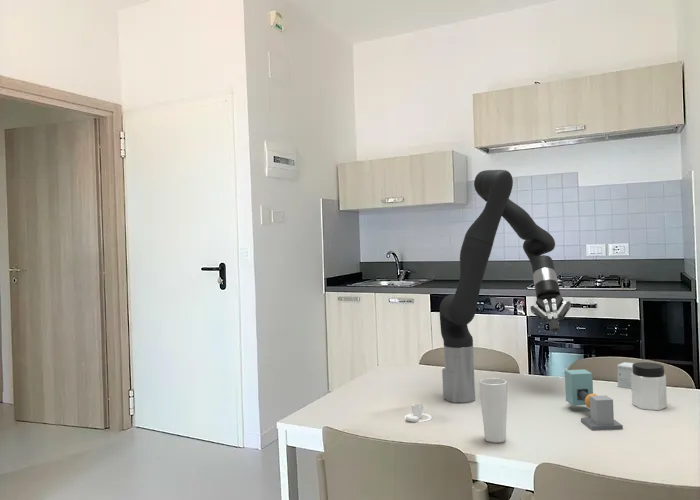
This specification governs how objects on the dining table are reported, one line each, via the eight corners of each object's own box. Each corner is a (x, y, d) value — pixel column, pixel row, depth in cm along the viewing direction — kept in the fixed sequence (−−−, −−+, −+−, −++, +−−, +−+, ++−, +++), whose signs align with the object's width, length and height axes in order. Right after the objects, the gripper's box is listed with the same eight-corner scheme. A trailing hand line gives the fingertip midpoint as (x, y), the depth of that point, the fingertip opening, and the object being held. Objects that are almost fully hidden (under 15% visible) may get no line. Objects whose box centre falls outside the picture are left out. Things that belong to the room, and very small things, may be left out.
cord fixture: (622, 429, 144) (621, 400, 144) (592, 430, 144) (591, 401, 144) (585, 403, 167) (584, 378, 167) (558, 404, 167) (558, 379, 167)
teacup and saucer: (411, 426, 155) (411, 411, 155) (396, 418, 162) (396, 404, 162) (437, 420, 159) (436, 406, 159) (421, 413, 166) (420, 399, 166)
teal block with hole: (593, 404, 159) (592, 373, 159) (572, 405, 159) (571, 374, 159) (586, 399, 164) (585, 369, 164) (565, 400, 164) (564, 370, 164)
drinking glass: (478, 436, 143) (475, 378, 143) (503, 434, 144) (501, 376, 144) (486, 445, 137) (484, 385, 136) (513, 443, 137) (511, 383, 137)
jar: (655, 412, 156) (654, 370, 156) (627, 406, 163) (626, 365, 162) (671, 406, 161) (670, 365, 161) (643, 400, 168) (642, 360, 167)
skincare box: (617, 387, 183) (616, 364, 183) (624, 383, 187) (624, 361, 187) (636, 390, 178) (635, 367, 178) (643, 386, 183) (643, 363, 182)
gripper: (524, 281, 183) (532, 328, 173) (566, 275, 179) (577, 323, 169) (526, 293, 188) (534, 339, 178) (567, 287, 185) (577, 334, 174)
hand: (555, 331), depth 173 cm, fingers closed
